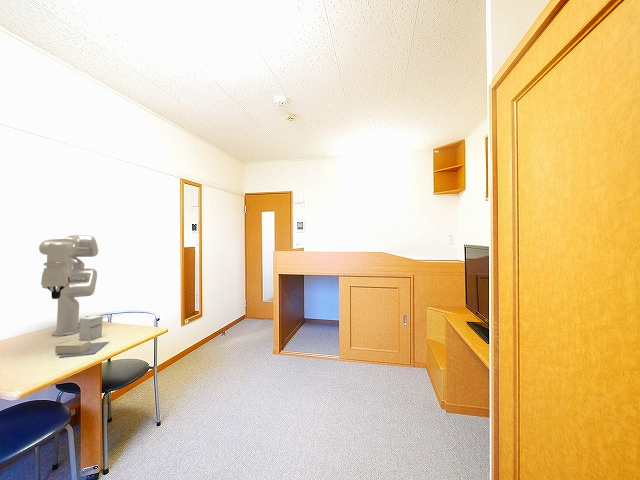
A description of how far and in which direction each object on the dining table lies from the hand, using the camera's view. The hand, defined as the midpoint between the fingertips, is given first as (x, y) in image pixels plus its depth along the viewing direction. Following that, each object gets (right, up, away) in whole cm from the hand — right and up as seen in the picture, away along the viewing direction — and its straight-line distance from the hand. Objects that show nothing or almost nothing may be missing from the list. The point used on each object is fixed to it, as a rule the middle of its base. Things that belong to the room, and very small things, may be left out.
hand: (55, 298), depth 132 cm
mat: (+19, -27, -3) cm, 33 cm away
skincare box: (+9, -24, -7) cm, 27 cm away
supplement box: (+7, -27, +13) cm, 31 cm away
